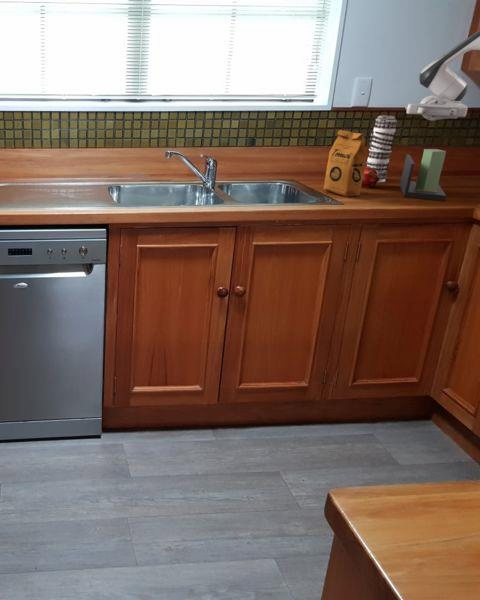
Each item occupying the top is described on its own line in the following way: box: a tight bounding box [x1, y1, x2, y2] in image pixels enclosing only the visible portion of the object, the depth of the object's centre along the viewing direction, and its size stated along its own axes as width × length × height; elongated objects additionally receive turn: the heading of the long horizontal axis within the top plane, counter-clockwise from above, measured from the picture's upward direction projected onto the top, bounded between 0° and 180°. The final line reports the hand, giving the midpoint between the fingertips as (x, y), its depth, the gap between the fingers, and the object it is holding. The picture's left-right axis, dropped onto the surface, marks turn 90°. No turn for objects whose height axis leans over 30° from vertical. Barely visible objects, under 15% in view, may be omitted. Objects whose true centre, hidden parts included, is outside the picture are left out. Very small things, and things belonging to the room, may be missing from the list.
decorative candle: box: [365, 114, 398, 183], centre depth 242 cm, size 9×9×25 cm
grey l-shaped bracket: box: [399, 154, 447, 202], centre depth 223 cm, size 13×22×12 cm, turn 158°
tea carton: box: [415, 148, 447, 191], centre depth 219 cm, size 5×5×14 cm
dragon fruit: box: [361, 165, 380, 189], centre depth 234 cm, size 8×8×12 cm
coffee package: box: [322, 129, 367, 198], centre depth 218 cm, size 10×12×22 cm
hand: (438, 111), depth 226 cm, fingers open, 8 cm apart
